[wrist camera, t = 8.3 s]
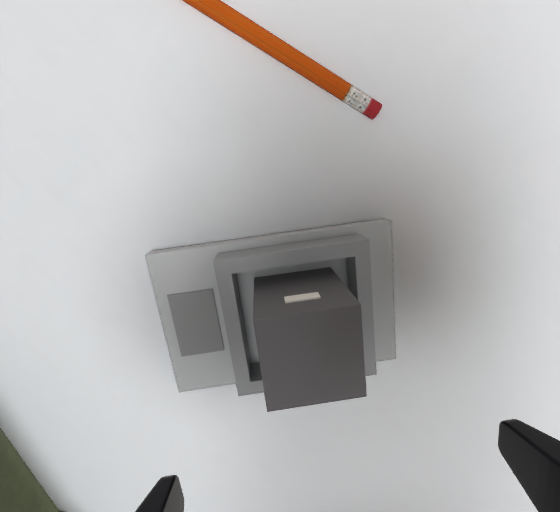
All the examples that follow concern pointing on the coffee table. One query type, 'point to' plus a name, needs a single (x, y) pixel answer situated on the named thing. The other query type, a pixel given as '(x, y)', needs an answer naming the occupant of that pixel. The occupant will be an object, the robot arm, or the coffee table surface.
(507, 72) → the coffee table surface
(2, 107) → the coffee table surface
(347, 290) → the block
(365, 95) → the pencil
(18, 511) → the handheld radio
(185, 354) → the grey charging dock
